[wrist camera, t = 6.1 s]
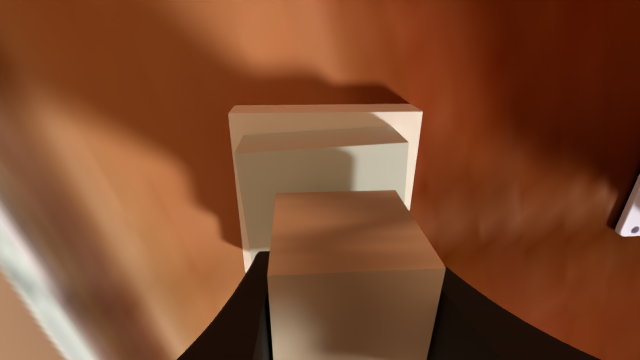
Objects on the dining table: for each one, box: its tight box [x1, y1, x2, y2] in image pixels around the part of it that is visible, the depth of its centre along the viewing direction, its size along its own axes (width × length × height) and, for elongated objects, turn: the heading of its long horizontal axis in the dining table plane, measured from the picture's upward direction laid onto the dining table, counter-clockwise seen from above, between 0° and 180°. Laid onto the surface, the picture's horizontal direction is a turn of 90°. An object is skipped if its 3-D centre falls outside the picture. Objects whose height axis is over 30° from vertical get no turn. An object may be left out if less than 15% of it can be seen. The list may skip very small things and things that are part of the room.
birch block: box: [267, 190, 446, 360], centre depth 11 cm, size 4×4×4 cm
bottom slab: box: [228, 104, 423, 272], centre depth 18 cm, size 9×9×2 cm
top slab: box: [234, 126, 409, 262], centre depth 16 cm, size 7×7×2 cm
